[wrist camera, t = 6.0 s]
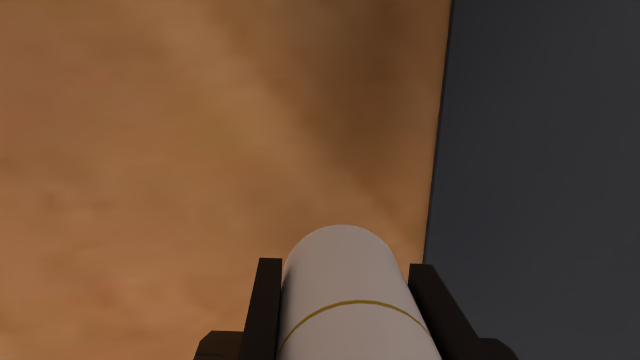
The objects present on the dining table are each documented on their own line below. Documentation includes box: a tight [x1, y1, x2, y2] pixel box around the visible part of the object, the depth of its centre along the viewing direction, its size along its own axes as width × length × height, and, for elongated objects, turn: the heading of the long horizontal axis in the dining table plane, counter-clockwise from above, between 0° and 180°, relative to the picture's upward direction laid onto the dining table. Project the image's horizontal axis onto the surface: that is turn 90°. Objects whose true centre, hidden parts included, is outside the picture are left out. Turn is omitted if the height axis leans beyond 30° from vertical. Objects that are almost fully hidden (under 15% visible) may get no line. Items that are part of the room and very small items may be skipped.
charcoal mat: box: [423, 0, 640, 360], centre depth 22 cm, size 20×17×1 cm
